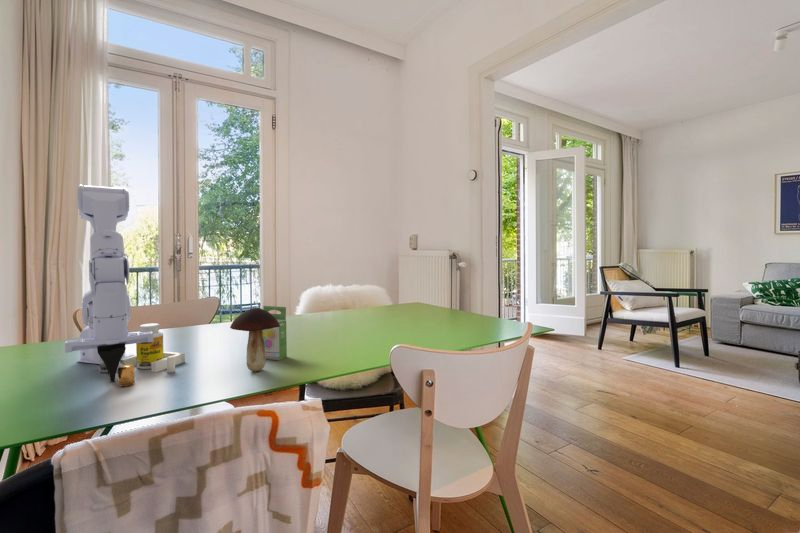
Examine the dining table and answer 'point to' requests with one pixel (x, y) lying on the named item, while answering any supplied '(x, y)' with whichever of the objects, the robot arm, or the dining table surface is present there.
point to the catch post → (171, 364)
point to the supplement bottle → (150, 347)
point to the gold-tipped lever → (122, 373)
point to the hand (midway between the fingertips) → (112, 380)
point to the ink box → (276, 336)
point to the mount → (103, 371)
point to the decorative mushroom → (255, 334)
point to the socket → (158, 364)
